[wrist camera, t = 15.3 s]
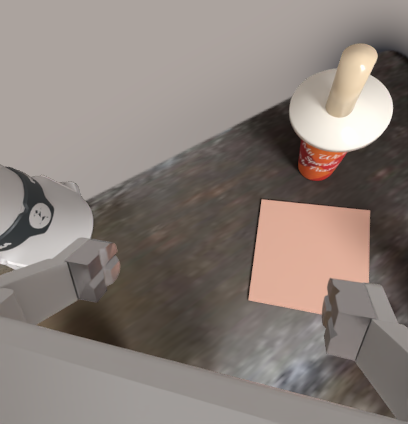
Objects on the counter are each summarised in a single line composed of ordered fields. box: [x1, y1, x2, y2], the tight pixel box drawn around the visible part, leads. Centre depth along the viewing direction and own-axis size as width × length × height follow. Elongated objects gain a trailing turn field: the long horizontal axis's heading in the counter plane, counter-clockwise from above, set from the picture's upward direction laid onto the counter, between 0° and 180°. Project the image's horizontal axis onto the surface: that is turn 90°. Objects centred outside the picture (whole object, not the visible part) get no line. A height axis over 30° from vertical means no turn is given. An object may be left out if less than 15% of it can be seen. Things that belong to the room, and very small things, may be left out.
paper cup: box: [298, 139, 347, 181], centre depth 39 cm, size 8×8×14 cm
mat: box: [248, 199, 370, 314], centre depth 42 cm, size 16×16×1 cm
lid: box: [289, 44, 393, 152], centre depth 29 cm, size 11×11×8 cm
